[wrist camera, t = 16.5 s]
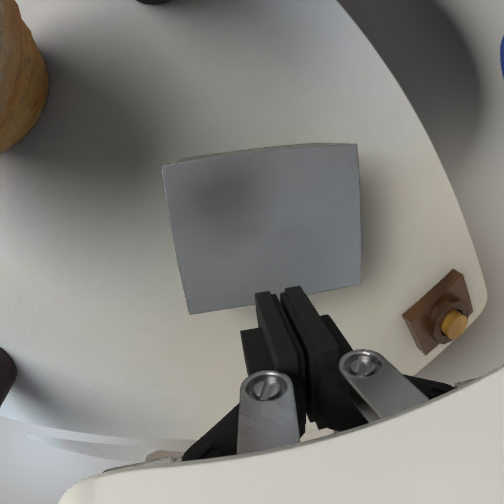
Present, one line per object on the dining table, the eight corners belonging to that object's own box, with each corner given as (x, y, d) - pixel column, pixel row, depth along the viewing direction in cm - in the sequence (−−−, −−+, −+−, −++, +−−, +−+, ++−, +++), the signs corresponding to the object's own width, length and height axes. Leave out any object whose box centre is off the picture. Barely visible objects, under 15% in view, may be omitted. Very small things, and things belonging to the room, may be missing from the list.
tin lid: (189, 310, 26) (189, 315, 25) (162, 165, 22) (160, 165, 21) (357, 280, 27) (361, 284, 26) (352, 143, 23) (357, 143, 22)
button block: (453, 268, 38) (471, 279, 35) (464, 305, 41) (480, 317, 37) (401, 314, 39) (417, 329, 35) (417, 347, 42) (432, 362, 38)
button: (457, 304, 36) (465, 310, 34) (462, 321, 37) (469, 327, 36) (438, 322, 36) (445, 328, 35) (444, 337, 38) (451, 344, 36)
